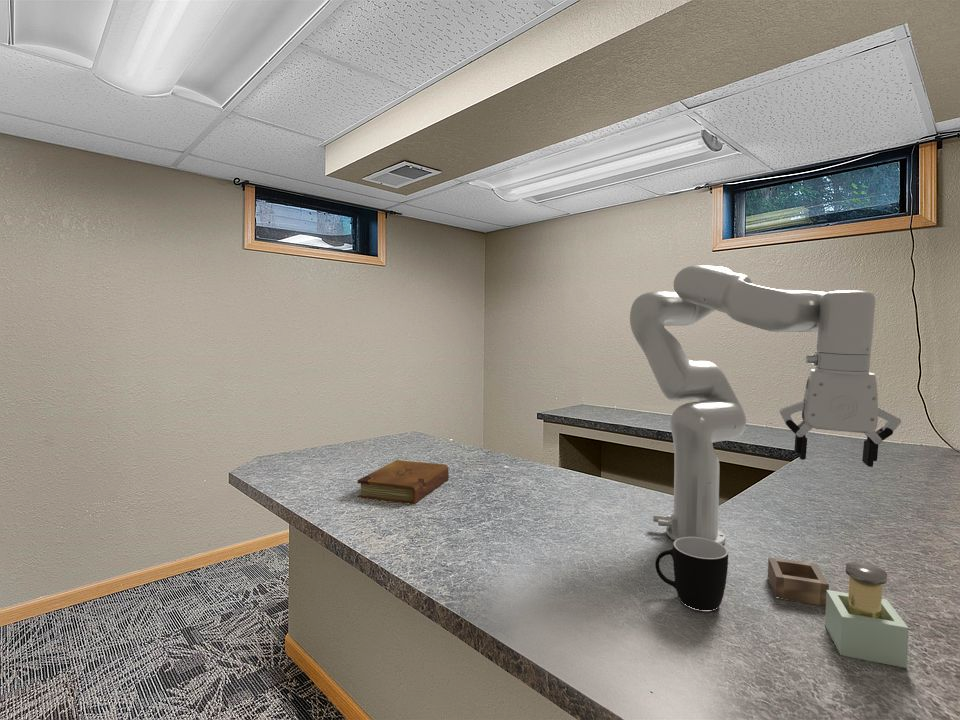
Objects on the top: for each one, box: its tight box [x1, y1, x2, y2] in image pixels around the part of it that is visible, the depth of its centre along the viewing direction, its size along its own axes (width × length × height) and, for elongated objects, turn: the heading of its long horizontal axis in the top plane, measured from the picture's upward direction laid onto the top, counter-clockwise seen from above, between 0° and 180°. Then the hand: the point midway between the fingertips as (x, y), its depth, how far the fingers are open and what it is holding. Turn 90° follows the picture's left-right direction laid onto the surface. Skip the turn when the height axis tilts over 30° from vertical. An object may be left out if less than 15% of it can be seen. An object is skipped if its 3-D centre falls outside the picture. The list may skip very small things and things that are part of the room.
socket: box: [824, 589, 910, 669], centre depth 77 cm, size 8×8×6 cm
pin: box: [845, 561, 888, 619], centre depth 77 cm, size 5×5×12 cm
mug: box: [654, 537, 729, 610], centre depth 90 cm, size 12×9×10 cm
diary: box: [357, 459, 450, 505], centre depth 153 cm, size 23×19×6 cm
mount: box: [767, 556, 830, 607], centre depth 92 cm, size 8×8×4 cm
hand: (833, 461), depth 87 cm, fingers open, 9 cm apart
